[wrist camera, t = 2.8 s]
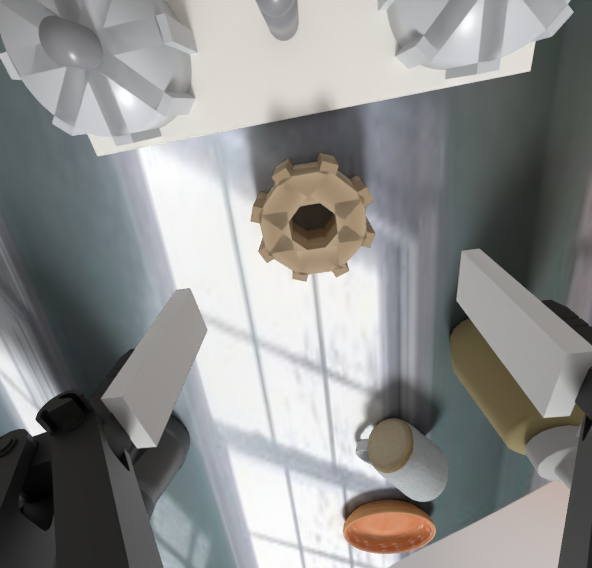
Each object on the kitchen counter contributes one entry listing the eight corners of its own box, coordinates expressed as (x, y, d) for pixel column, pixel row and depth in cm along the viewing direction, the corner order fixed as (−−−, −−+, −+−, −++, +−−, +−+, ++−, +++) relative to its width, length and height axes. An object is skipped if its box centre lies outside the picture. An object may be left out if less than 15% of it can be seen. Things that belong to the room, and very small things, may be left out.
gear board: (108, 153, 26) (22, 175, 18) (28, -26, 20) (-146, -106, 12) (517, 72, 22) (631, 56, 14) (554, -170, 17) (773, -407, 9)
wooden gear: (272, 263, 30) (267, 286, 26) (248, 164, 26) (238, 176, 22) (367, 249, 29) (377, 271, 25) (360, 144, 25) (371, 152, 21)
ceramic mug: (402, 404, 41) (420, 463, 34) (436, 432, 43) (459, 492, 37) (341, 436, 45) (347, 495, 38) (376, 460, 48) (387, 518, 41)
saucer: (337, 496, 54) (338, 516, 51) (431, 490, 52) (438, 510, 49) (346, 537, 61) (348, 556, 59) (428, 532, 60) (434, 552, 57)
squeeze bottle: (489, 291, 31) (670, 474, 16) (529, 333, 34) (717, 525, 19) (424, 336, 35) (521, 525, 19) (464, 371, 37) (579, 563, 22)
